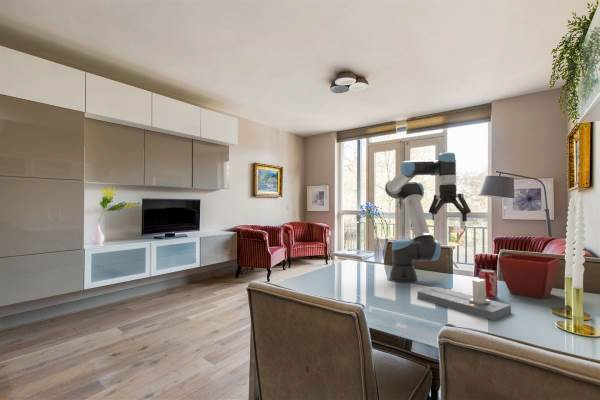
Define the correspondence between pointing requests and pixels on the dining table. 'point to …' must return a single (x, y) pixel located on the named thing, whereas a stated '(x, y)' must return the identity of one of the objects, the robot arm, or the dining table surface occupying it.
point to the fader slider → (479, 292)
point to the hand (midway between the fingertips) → (449, 227)
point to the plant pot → (529, 274)
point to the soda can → (489, 282)
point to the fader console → (464, 303)
